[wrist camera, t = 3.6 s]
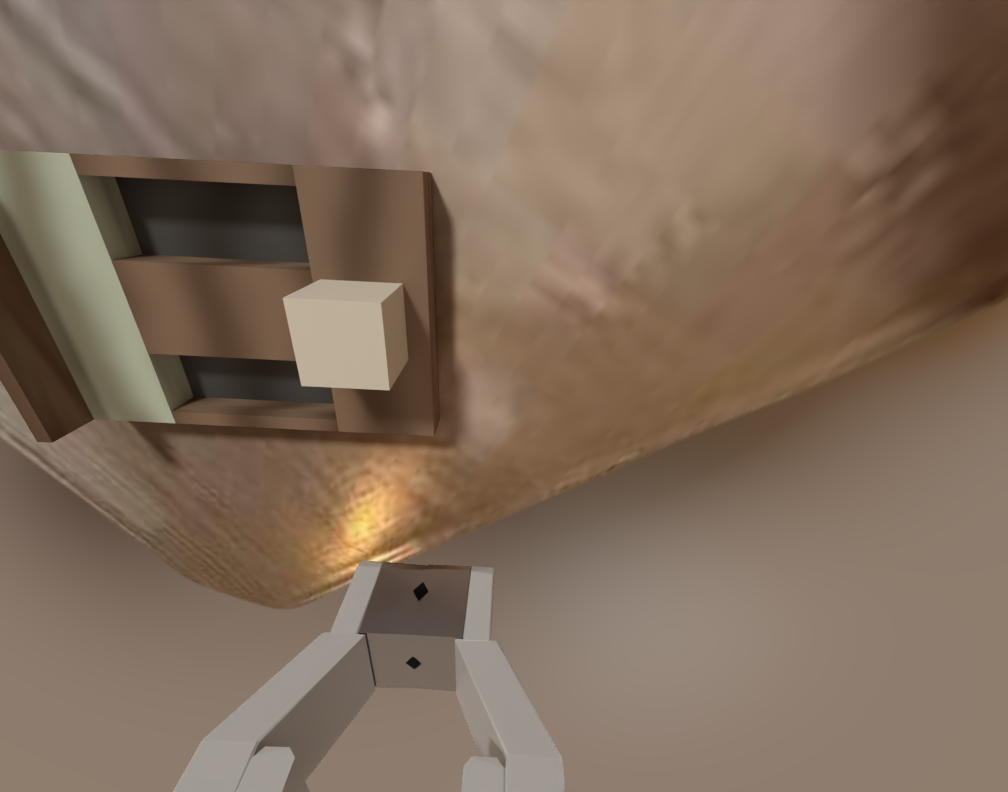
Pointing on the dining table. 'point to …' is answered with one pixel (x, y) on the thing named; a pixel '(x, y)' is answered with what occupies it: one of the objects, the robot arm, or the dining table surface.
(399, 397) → the box
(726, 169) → the dining table surface
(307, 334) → the cream block
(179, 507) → the dining table surface
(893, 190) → the dining table surface
